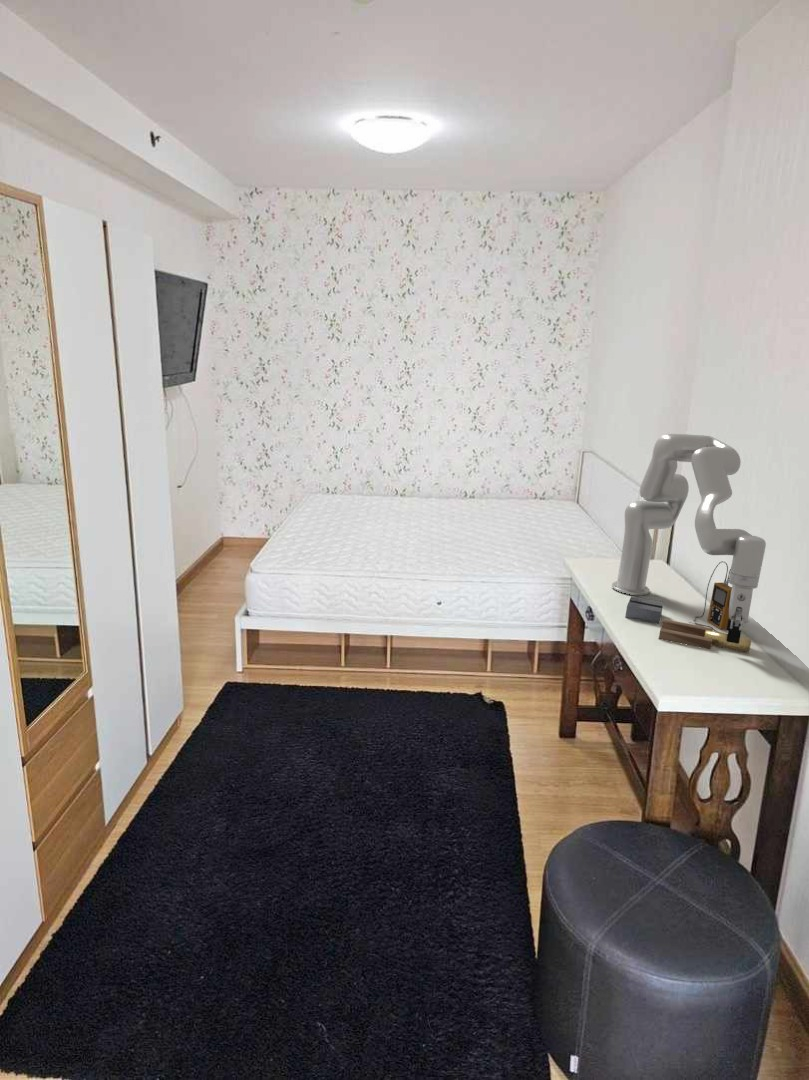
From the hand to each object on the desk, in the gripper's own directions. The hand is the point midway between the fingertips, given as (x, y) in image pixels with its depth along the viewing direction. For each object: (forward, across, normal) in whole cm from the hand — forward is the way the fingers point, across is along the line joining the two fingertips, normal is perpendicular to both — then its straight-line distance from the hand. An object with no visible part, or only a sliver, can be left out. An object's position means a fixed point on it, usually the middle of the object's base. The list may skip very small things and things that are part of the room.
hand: (732, 636), depth 206 cm
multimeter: (+3, +15, +6) cm, 17 cm away
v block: (+3, +12, +25) cm, 28 cm away
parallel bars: (+3, 0, +12) cm, 13 cm away
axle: (+2, 0, +1) cm, 2 cm away
